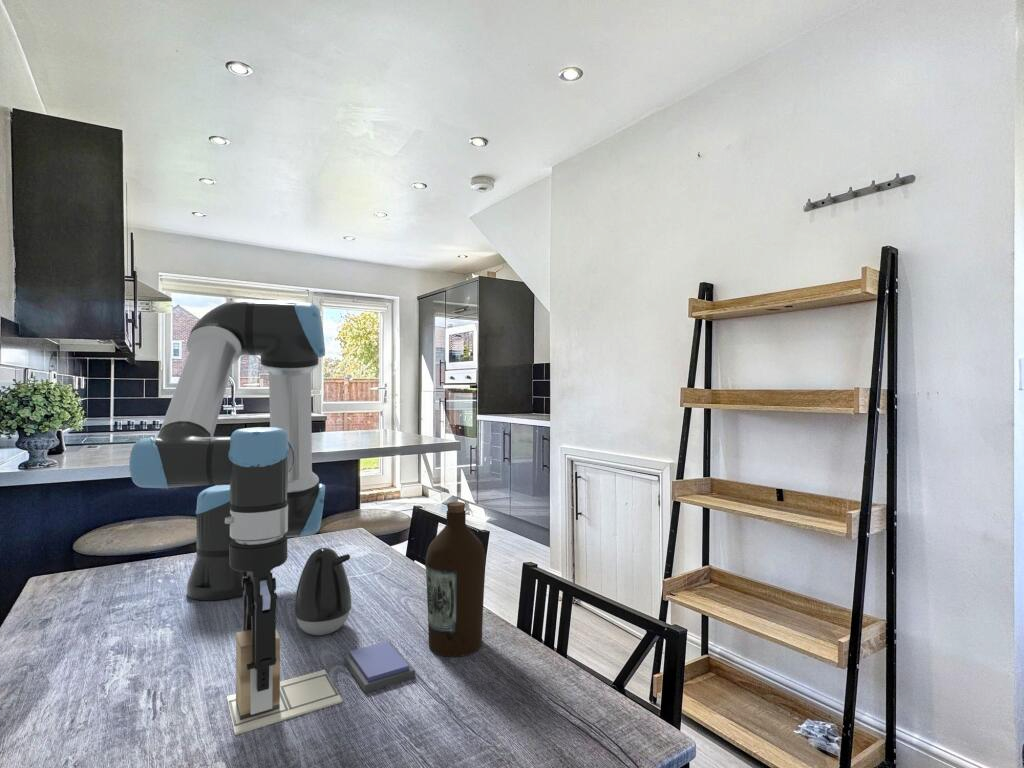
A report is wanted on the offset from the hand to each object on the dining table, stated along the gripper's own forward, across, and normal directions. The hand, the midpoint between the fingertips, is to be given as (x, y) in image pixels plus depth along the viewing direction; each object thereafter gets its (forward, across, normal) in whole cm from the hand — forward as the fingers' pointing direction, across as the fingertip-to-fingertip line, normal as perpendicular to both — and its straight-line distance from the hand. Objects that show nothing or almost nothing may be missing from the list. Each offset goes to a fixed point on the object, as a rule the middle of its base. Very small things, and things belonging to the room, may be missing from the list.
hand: (258, 699), depth 78 cm
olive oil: (+1, -2, +32) cm, 32 cm away
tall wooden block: (+1, 0, 0) cm, 1 cm away
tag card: (+1, 0, +4) cm, 4 cm away
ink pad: (+1, -1, +18) cm, 18 cm away
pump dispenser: (+1, -20, +14) cm, 25 cm away
